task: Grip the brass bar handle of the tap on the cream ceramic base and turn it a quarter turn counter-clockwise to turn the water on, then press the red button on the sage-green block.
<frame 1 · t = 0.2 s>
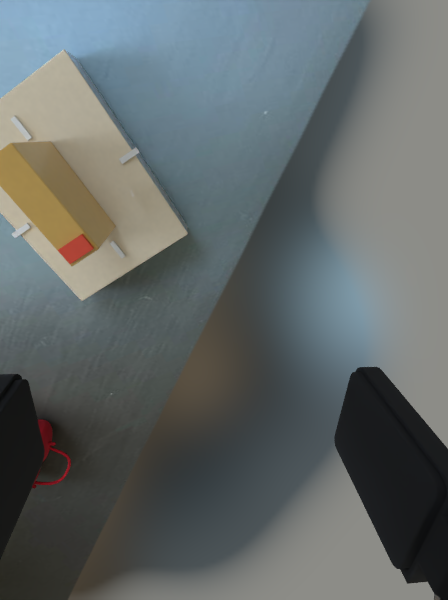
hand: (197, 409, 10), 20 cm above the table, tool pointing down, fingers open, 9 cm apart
alarm clock: (0, 432, 35), on the table
tap base: (84, 188, 25), on the table
tap handle: (60, 201, 21), point 5 cm above the table, hinge at 0.0°
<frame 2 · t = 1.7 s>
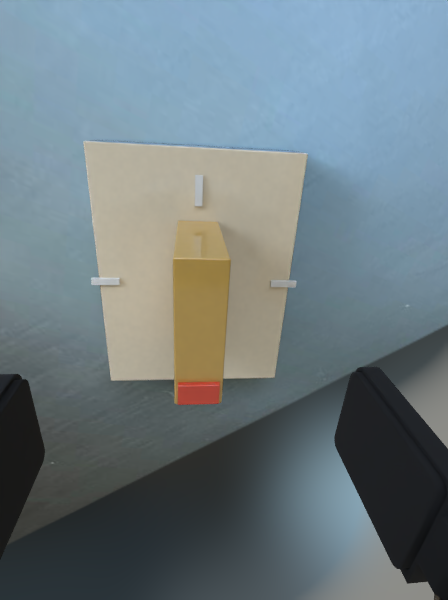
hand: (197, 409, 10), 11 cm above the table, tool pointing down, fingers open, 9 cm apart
tap base: (196, 265, 20), on the table
tap handle: (198, 307, 15), point 5 cm above the table, hinge at 0.0°
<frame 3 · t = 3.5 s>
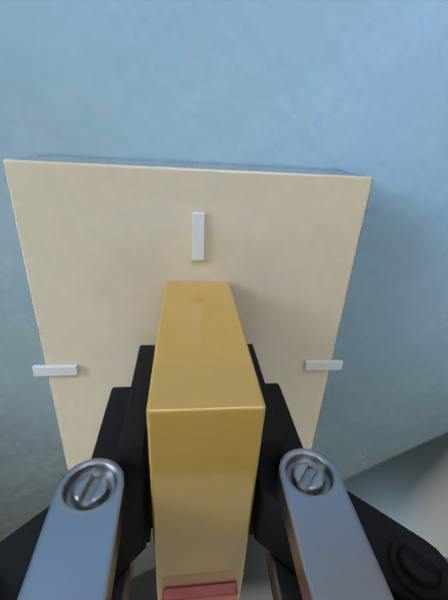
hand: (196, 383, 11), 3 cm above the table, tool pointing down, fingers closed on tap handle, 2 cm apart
tap base: (193, 329, 14), on the table
tap handle: (198, 430, 9), point 5 cm above the table, hinge at 0.0°, touching gripper
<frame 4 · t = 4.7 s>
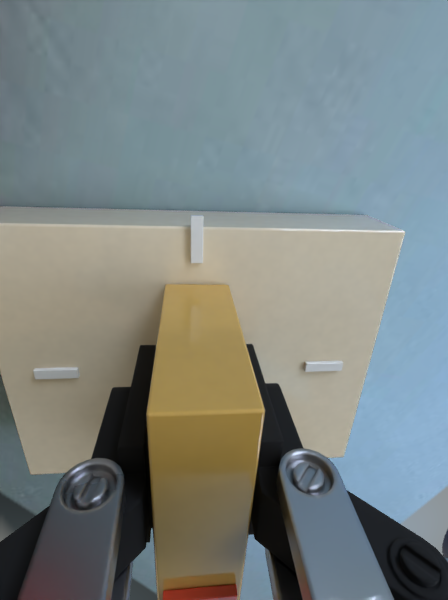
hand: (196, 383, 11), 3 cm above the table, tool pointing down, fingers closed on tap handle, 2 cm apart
tap base: (194, 331, 14), on the table
tap handle: (198, 432, 9), point 5 cm above the table, hinge at 89.5°, touching gripper
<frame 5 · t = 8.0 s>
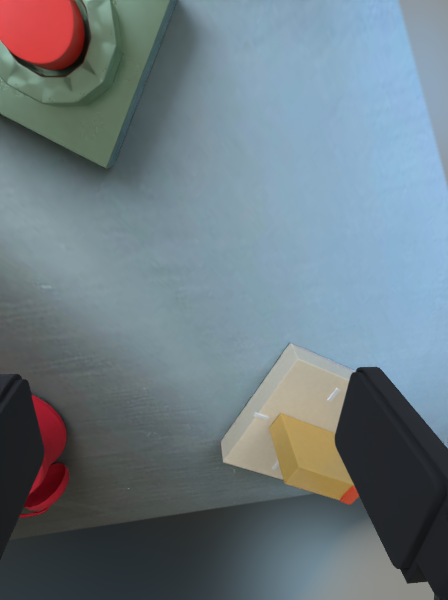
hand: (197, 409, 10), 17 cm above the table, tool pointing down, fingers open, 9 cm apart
alarm clock: (14, 440, 32), on the table
tap base: (295, 410, 33), on the table
button block: (69, 44, 19), on the table
button: (38, 20, 15), point 4 cm above the table, slide at 0.1 cm
tap handle: (314, 457, 29), point 5 cm above the table, hinge at 89.3°
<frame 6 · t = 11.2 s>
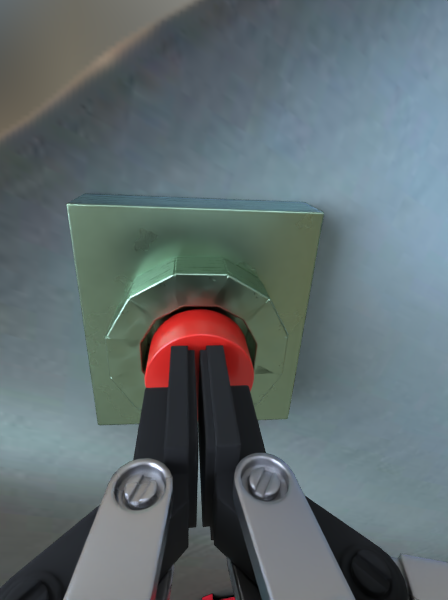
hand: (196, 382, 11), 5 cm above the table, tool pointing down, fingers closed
button block: (196, 307, 16), on the table
button: (199, 365, 12), point 4 cm above the table, slide at 0.1 cm, touching gripper
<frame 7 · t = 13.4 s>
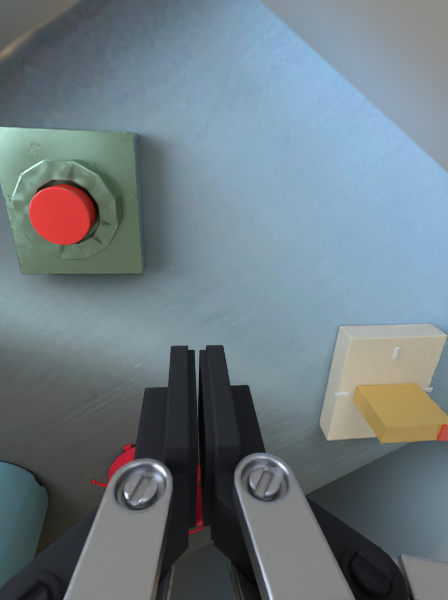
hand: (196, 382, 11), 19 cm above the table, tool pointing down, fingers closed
alarm clock: (163, 479, 40), on the table
tap base: (371, 376, 37), on the table
button block: (81, 202, 26), on the table
button: (64, 214, 22), point 4 cm above the table, slide at 0.1 cm
tap handle: (400, 411, 32), point 5 cm above the table, hinge at 89.3°
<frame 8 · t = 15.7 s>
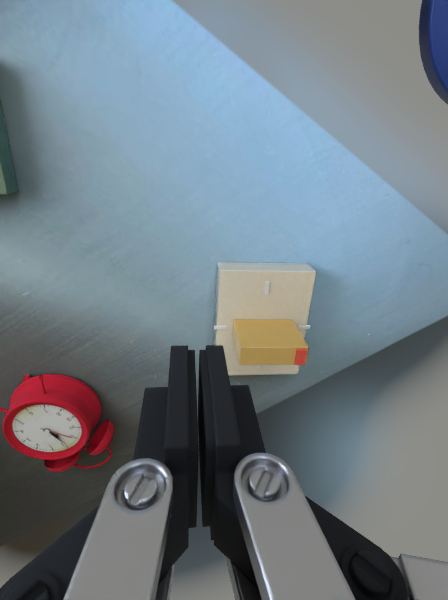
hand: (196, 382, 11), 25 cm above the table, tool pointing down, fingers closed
alarm clock: (67, 413, 43), on the table
tap base: (257, 316, 39), on the table
tap handle: (268, 341, 34), point 5 cm above the table, hinge at 89.3°
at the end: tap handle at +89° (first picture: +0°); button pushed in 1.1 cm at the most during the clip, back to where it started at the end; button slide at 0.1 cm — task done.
